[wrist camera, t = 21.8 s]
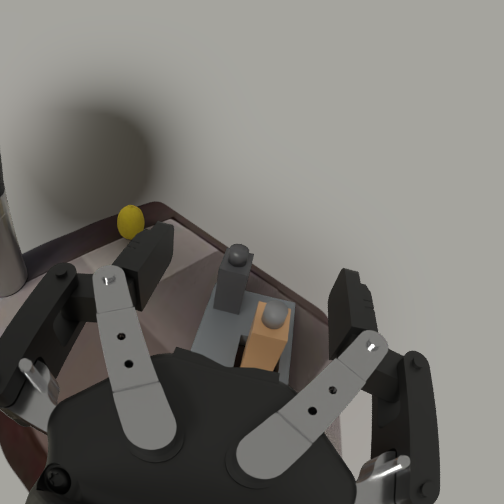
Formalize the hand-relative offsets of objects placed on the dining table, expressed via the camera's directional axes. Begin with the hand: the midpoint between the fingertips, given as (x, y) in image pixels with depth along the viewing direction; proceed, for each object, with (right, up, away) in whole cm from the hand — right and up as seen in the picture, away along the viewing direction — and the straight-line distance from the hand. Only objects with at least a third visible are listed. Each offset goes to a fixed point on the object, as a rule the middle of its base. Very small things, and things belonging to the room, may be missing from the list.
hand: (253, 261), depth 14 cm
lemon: (-25, +3, +44) cm, 50 cm away
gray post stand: (-1, -13, +29) cm, 32 cm away
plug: (0, -16, +26) cm, 31 cm away
